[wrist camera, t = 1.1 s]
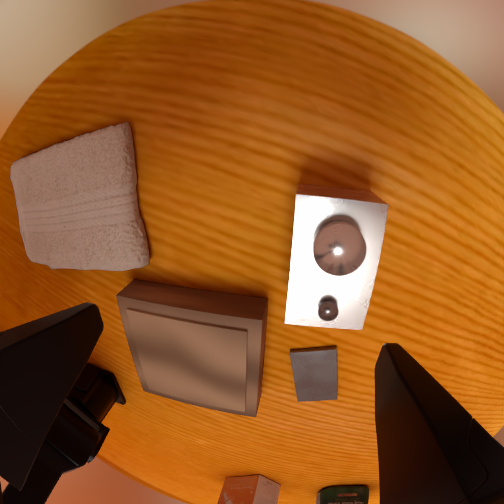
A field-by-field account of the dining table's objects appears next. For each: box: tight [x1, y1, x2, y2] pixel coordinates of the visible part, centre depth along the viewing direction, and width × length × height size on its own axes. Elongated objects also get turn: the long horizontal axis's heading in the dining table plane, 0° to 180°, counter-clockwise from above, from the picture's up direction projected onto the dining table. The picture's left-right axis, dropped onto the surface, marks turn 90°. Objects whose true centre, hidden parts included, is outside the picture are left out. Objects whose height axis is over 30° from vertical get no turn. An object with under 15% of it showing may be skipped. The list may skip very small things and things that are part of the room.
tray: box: [116, 279, 268, 417], centre depth 23 cm, size 12×12×3 cm
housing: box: [285, 184, 388, 330], centre depth 17 cm, size 8×5×6 cm, turn 178°
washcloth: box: [10, 122, 150, 271], centre depth 21 cm, size 12×18×3 cm, turn 94°
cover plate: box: [290, 346, 337, 402], centre depth 24 cm, size 7×4×1 cm, turn 12°
